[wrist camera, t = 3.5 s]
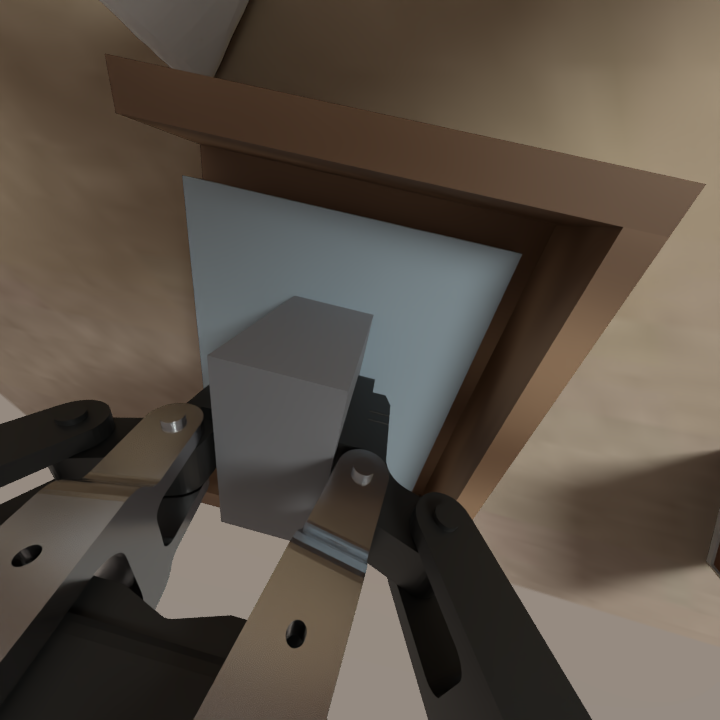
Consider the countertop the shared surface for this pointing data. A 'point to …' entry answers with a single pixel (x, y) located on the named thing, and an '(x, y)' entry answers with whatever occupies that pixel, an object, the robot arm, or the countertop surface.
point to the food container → (715, 549)
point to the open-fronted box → (442, 233)
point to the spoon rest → (182, 29)
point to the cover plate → (355, 274)
